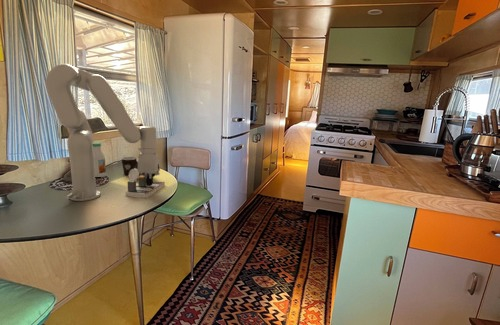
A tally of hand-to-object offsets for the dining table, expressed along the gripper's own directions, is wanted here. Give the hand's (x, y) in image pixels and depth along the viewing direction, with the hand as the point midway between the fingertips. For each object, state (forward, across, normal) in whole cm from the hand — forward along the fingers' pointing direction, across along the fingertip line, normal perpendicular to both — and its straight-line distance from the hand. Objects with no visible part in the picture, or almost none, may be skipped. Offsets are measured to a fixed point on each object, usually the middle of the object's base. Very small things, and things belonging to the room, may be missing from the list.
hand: (149, 184), depth 141 cm
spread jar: (+4, -14, +17) cm, 23 cm away
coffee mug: (+4, -24, +24) cm, 34 cm away
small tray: (+3, -2, 0) cm, 4 cm away
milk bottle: (+4, -40, +14) cm, 42 cm away
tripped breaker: (+1, -4, 0) cm, 4 cm away
